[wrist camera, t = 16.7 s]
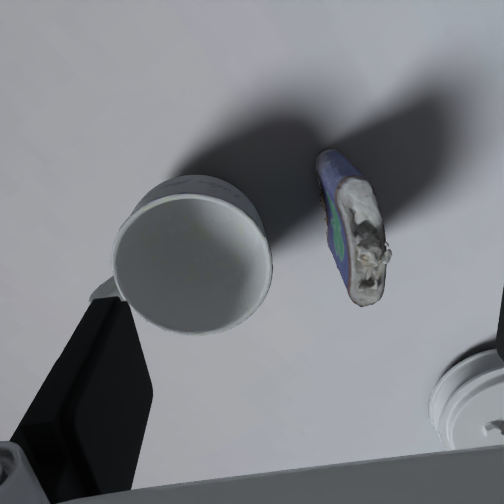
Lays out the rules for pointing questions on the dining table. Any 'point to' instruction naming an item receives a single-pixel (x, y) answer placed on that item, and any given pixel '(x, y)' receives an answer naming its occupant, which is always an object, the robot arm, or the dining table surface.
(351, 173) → the dark blue piece
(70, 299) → the dining table surface
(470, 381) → the lid
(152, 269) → the teacup
